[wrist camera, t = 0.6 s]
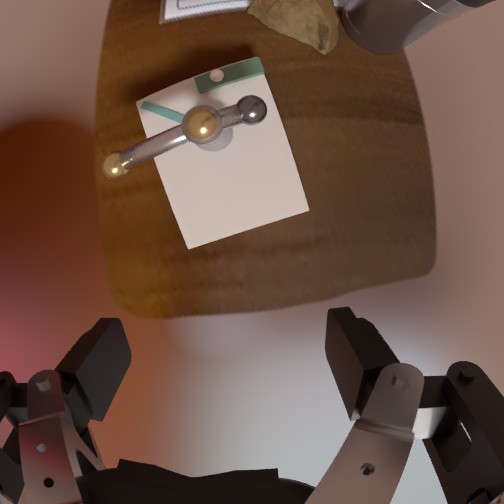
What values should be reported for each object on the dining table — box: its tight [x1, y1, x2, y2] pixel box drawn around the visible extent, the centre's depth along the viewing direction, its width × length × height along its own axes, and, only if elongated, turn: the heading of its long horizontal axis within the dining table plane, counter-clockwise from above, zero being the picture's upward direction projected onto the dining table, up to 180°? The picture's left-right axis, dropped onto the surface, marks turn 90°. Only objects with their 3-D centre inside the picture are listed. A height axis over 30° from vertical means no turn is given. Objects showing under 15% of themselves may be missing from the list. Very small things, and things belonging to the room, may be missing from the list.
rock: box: [247, 0, 340, 55], centre depth 22 cm, size 11×9×10 cm
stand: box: [136, 57, 309, 249], centre depth 28 cm, size 14×18×5 cm
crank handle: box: [102, 95, 267, 179], centre depth 22 cm, size 15×3×6 cm, turn 108°
